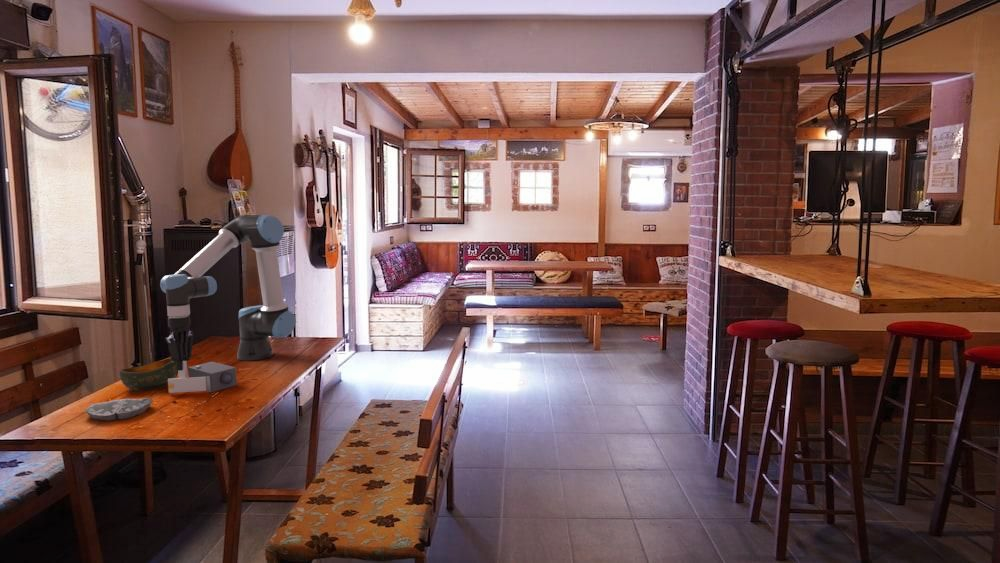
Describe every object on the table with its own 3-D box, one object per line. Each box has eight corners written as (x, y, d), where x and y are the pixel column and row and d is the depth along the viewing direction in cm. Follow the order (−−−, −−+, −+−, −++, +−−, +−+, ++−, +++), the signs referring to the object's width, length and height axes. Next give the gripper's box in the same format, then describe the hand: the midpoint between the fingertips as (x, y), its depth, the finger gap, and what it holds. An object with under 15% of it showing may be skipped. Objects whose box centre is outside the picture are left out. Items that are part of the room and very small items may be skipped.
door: (169, 393, 233) (168, 378, 232) (211, 391, 235) (210, 376, 235) (168, 395, 231) (167, 379, 230) (210, 392, 234) (208, 377, 233)
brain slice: (80, 427, 201) (79, 419, 200) (90, 411, 216) (89, 402, 216) (150, 418, 208) (149, 410, 208) (155, 403, 224) (154, 395, 223)
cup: (175, 391, 237) (172, 365, 235) (118, 393, 234) (115, 367, 233) (187, 380, 250) (185, 356, 248) (133, 383, 247) (131, 358, 246)
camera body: (213, 378, 252) (212, 360, 251) (239, 385, 243) (238, 366, 241) (189, 384, 244) (187, 365, 243) (215, 392, 234) (213, 372, 233)
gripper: (182, 312, 240) (186, 372, 243) (157, 319, 227) (161, 382, 231) (199, 313, 239) (203, 373, 242) (175, 319, 226) (179, 383, 229)
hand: (183, 377), depth 236 cm, fingers closed
